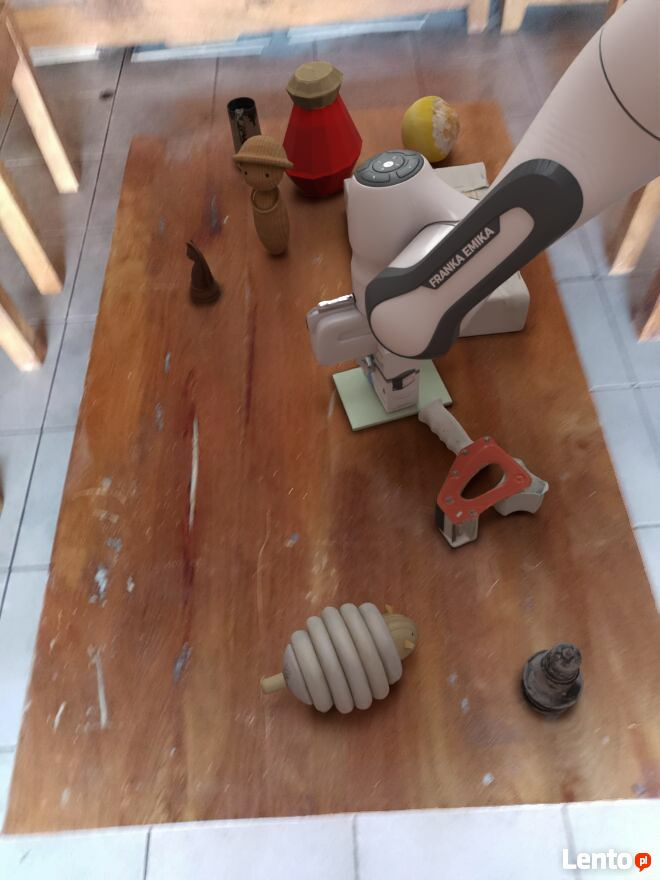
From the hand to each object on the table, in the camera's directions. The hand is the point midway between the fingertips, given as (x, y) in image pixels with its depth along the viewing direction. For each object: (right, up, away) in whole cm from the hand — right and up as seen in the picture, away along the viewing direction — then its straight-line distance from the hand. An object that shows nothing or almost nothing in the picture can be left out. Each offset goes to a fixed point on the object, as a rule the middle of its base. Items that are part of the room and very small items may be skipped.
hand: (391, 364), depth 94 cm
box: (+7, +17, +18) cm, 26 cm away
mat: (0, -3, +5) cm, 6 cm away
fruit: (+10, +41, +35) cm, 55 cm away
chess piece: (-27, +13, +19) cm, 36 cm away
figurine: (-17, +21, +23) cm, 35 cm away
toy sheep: (-6, -35, -17) cm, 40 cm away
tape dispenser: (+10, -15, -5) cm, 19 cm away
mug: (-23, +41, +38) cm, 60 cm away
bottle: (-9, +36, +33) cm, 50 cm away
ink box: (0, -3, +4) cm, 5 cm away
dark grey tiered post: (+15, -36, -20) cm, 44 cm away
